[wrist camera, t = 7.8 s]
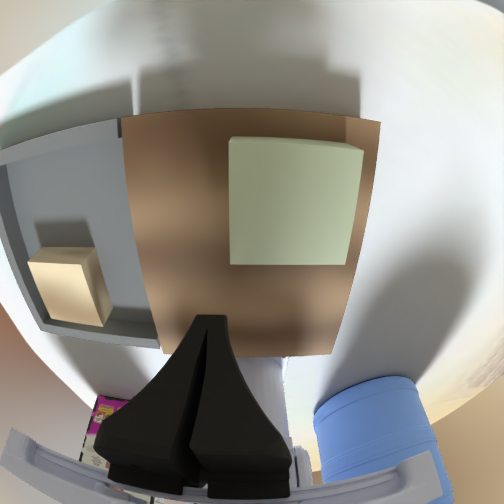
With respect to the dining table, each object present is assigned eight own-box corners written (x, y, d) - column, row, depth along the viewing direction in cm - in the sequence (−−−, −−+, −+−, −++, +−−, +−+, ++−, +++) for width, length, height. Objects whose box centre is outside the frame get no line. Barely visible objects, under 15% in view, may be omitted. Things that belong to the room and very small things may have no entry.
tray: (165, 328, 24) (159, 348, 21) (50, 315, 23) (40, 330, 21) (133, 115, 15) (117, 118, 13) (1, 150, 14) (-18, 157, 12)
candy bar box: (110, 409, 33) (88, 497, 19) (97, 393, 31) (69, 488, 17) (175, 419, 34) (164, 518, 19) (167, 404, 31) (151, 514, 17)
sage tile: (332, 242, 16) (344, 264, 14) (232, 241, 16) (230, 264, 14) (345, 143, 13) (363, 150, 11) (231, 136, 13) (228, 142, 11)
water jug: (327, 380, 29) (364, 598, 4) (430, 364, 29) (490, 530, 5) (302, 431, 36) (318, 581, 12) (387, 417, 37) (419, 548, 13)
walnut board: (323, 329, 24) (330, 354, 21) (170, 328, 24) (163, 353, 21) (360, 118, 15) (380, 122, 13) (140, 114, 15) (121, 117, 12)
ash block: (51, 318, 19) (62, 301, 21) (103, 326, 19) (113, 307, 22) (27, 261, 16) (42, 246, 18) (80, 264, 16) (95, 247, 19)
